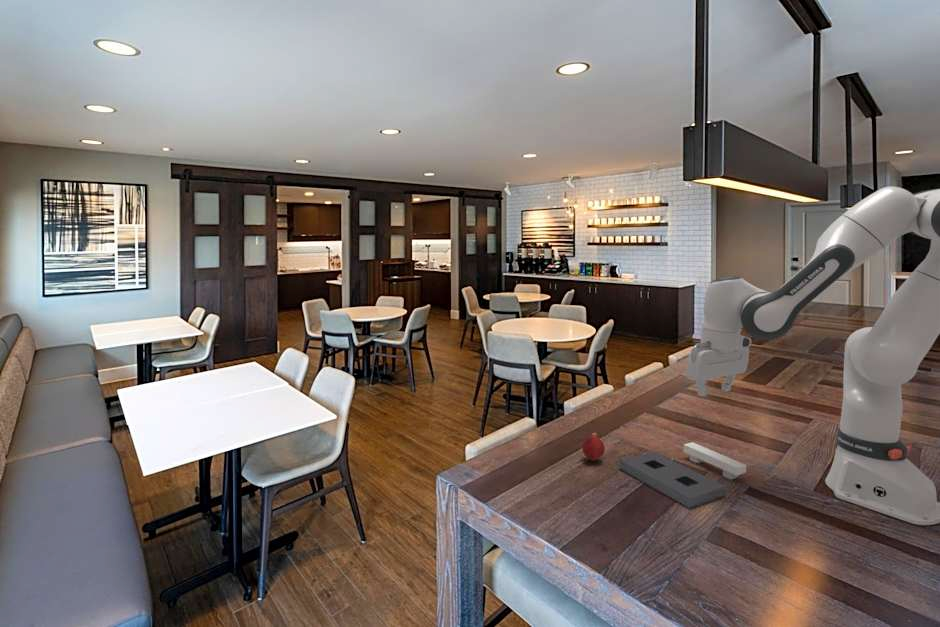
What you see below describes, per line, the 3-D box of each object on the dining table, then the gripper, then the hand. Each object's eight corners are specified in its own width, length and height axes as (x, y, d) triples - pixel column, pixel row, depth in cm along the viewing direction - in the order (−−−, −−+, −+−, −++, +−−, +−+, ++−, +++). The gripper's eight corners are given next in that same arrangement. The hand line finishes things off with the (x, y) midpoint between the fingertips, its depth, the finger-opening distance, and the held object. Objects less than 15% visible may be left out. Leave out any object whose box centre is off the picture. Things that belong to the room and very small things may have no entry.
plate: (725, 496, 119) (725, 486, 118) (689, 508, 113) (690, 498, 113) (652, 459, 138) (653, 451, 137) (619, 469, 132) (620, 460, 132)
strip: (745, 480, 126) (746, 465, 126) (736, 483, 125) (737, 468, 124) (691, 455, 141) (692, 442, 140) (682, 458, 139) (683, 444, 138)
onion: (588, 466, 134) (589, 438, 133) (578, 457, 139) (579, 430, 138) (607, 464, 135) (609, 435, 134) (597, 455, 141) (598, 428, 140)
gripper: (704, 346, 120) (699, 402, 122) (755, 339, 130) (749, 390, 132) (681, 341, 125) (677, 394, 127) (732, 334, 135) (727, 384, 137)
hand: (714, 392), depth 130 cm, fingers open, 8 cm apart
